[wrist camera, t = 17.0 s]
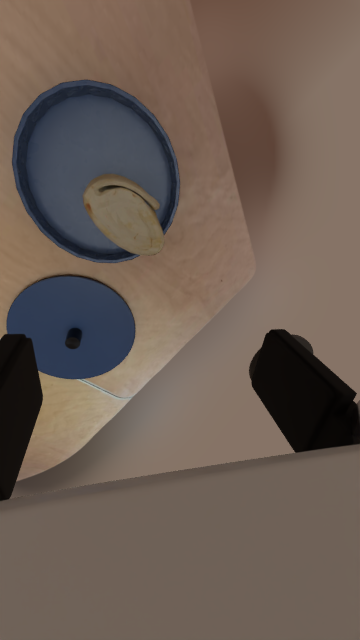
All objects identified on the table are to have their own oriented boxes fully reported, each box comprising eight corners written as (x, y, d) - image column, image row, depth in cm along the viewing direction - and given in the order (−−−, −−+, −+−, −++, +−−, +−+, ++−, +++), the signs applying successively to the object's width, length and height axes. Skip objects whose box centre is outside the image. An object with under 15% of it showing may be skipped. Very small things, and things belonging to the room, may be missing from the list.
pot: (180, 108, 37) (187, 99, 33) (168, 258, 47) (172, 265, 43) (8, 75, 31) (-7, 60, 28) (37, 252, 42) (29, 259, 38)
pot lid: (136, 276, 47) (137, 285, 43) (134, 372, 58) (135, 386, 54) (-5, 272, 42) (-18, 282, 38) (21, 379, 52) (14, 395, 48)
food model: (84, 198, 39) (60, 214, 22) (110, 161, 37) (105, 146, 20) (135, 239, 44) (148, 279, 27) (160, 208, 42) (190, 228, 25)
